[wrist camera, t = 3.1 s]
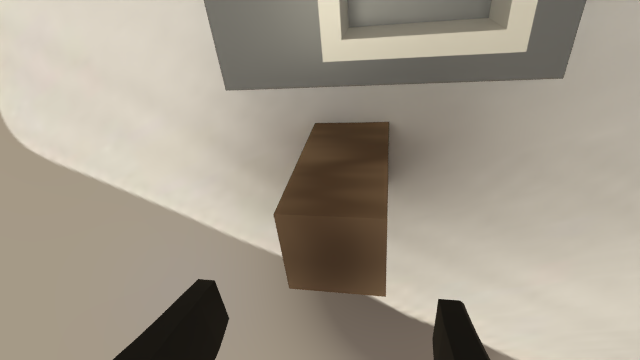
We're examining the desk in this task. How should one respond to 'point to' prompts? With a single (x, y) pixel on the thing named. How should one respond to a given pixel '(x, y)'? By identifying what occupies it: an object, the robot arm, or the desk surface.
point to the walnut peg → (337, 211)
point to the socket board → (390, 41)
